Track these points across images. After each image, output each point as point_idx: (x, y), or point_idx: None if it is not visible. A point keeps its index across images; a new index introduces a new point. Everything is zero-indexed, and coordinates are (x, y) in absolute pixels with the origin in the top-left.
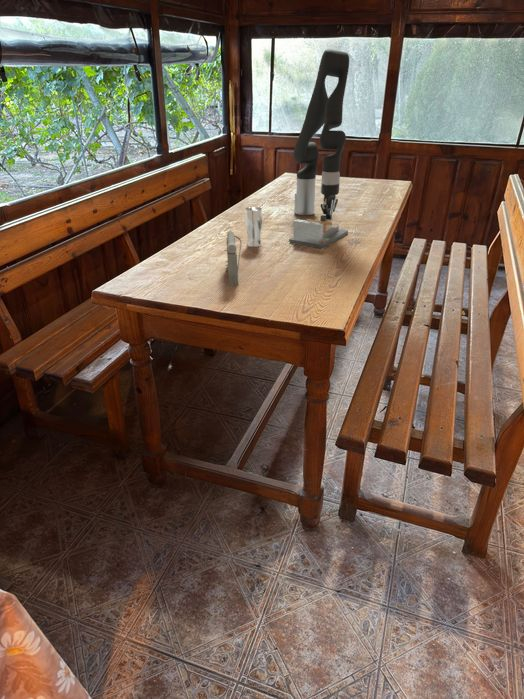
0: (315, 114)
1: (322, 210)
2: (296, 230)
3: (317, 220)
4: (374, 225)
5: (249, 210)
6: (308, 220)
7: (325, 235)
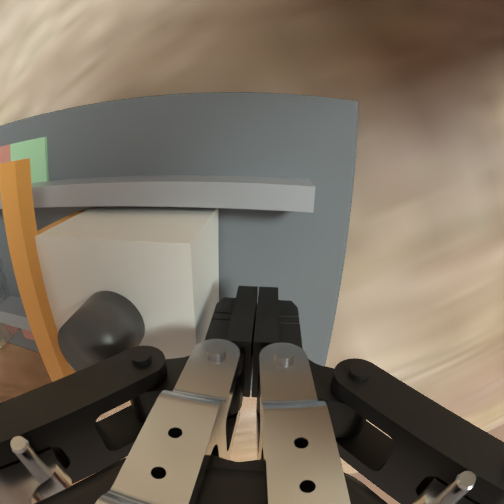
0: None
1: (57, 386)
2: None
3: (82, 259)
4: (492, 399)
5: None
6: (3, 185)
7: None
